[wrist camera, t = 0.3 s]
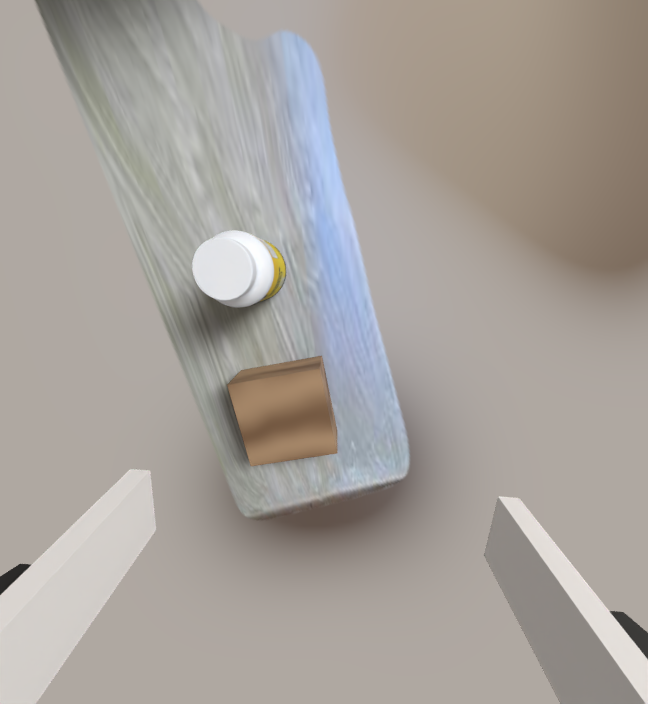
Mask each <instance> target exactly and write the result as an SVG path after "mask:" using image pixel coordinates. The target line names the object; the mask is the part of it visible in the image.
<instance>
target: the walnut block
mask: <svg viewBox="0 0 648 704" xmlns="http://www.w3.org/2000/svg"><path fill="white" fill-rule="evenodd" d="M227 386H228V390H229V393H230V397H231V400H232V403H233V407H234V410H235V414H236V417H237V421H238V424H239V428H240V431H241V434H242V438H243V441H244V445H245V448H246V452H247V455H248V458H249V462H250V465H251V466H256V465H263V464H269V463H276V462H283V461H289V460H296V459H303V458H309V457H316V456H322V455H329V454H336V453H337V427H336V422H335V418H334V413H333V408H332V403H331V398H330V393H329V388H328V383H327V379H326V374H325V369H324V364H323V359H322V356H318V357H312V358H307V359H301V360H296V361H290V362H285V363H279V364H273V365H268V366H262V367H257V368H251V369H246V370H241V371H240V372H239V373H238V374H237V375H236V376H235V377H234V378H233V379H232V380H231V382H230V383H229V384H228V385H227Z"/></svg>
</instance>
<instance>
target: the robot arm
mask: <svg viewBox="0 0 648 704" xmlns="http://www.w3.org/2000/svg"><path fill="white" fill-rule="evenodd" d="M155 531H156V524H155V514H154V504H153V493H152V484H151V474H150V470H135V469H130V470H129V471H128V472H127V473H126V474H125V475H124V476H123V477H122V478H121V479H120V480H119V481H118V482H117V483H116V484H114V486H112V487H111V488H110V489H109V490H108V491H107V492H106V494H104V495H103V496H102V497H101V498H100V499H99V500H98V501H97V502H96V503H95V504H94V505H93V506H92V507H91V508H90V509H89V510H88V511H87V512H86V513H85V514H84V515H83V516H82V517H81V518H79V519H78V521H76V522H75V523H74V525H72V526H71V527H70V528H69V529H68V530H67V531H66V532H65V533H64V534H63V535H62V536H61V537H60V538H59V539H58V540H57V541H56V542H55V543H54V544H53V545H52V546H51V547H50V548H49V549H48V550H46V552H44V553H43V554H42V555H41V556H40V557H39V558H38V559H37V560H36V561H35V562H34V563H33V564H32V565H28V564H19V565H18V566H16V567H15V568H13V569H11V570H10V571H8V572H7V573H5V574H4V575H2V576H0V704H36V702H37V701H38V700H39V698H40V697H41V695H42V694H43V692H44V691H45V689H46V688H47V687H48V685H49V684H50V682H51V681H52V679H53V678H54V676H55V675H56V674H57V672H58V671H59V669H60V668H61V666H62V665H63V663H64V662H65V661H66V659H67V658H68V656H69V655H70V653H71V652H72V650H73V649H74V648H75V646H76V645H77V643H78V642H79V640H80V639H81V637H82V636H83V635H84V633H85V632H86V630H87V629H88V627H89V626H90V624H91V623H92V622H93V620H94V619H95V617H96V616H97V614H98V613H99V611H100V610H101V609H102V607H103V606H104V604H105V603H106V601H107V600H108V598H109V597H110V596H111V594H112V593H113V591H114V589H115V588H116V587H117V585H118V584H119V583H120V581H121V580H122V578H123V577H124V575H125V574H126V572H127V571H128V570H129V568H130V567H131V565H132V564H133V562H134V561H135V559H136V558H137V557H138V555H139V554H140V552H141V551H142V549H143V548H144V546H145V545H146V544H147V542H148V541H149V539H150V538H151V536H152V535H153V533H154V532H155ZM484 556H485V558H486V560H487V562H488V564H489V566H490V568H491V570H492V572H493V574H494V576H495V578H496V580H497V582H498V584H499V586H500V587H501V589H502V591H503V593H504V595H505V597H506V599H507V601H508V603H509V605H510V607H511V609H512V611H513V613H514V615H515V617H516V618H517V620H518V622H519V624H520V626H521V628H522V630H523V632H524V634H525V636H526V638H527V640H528V642H529V644H530V646H531V647H532V649H533V651H534V653H535V655H536V657H537V659H538V661H539V663H540V665H541V667H542V669H543V671H544V673H545V675H546V677H547V679H548V680H549V682H550V684H551V686H552V688H553V690H554V692H555V694H556V696H557V698H558V700H559V702H560V704H648V633H647V632H646V631H645V630H643V628H641V627H640V626H639V625H638V624H637V623H635V622H634V621H633V620H632V619H631V618H629V617H628V616H627V615H626V614H625V613H623V612H615V611H609V610H608V609H607V608H606V607H605V605H604V604H603V603H602V601H600V599H599V598H598V596H597V595H596V594H595V593H594V591H593V590H592V589H591V588H590V586H589V585H588V584H587V583H586V581H585V580H584V579H583V578H582V576H581V575H580V574H579V573H578V571H577V570H576V569H575V568H574V567H573V565H572V564H571V563H570V561H569V560H568V559H567V558H566V556H565V555H564V554H563V553H562V551H561V550H560V549H559V548H558V546H557V545H556V544H555V543H554V541H553V540H552V539H551V538H550V536H549V535H548V534H547V533H546V531H545V530H544V529H543V528H542V527H541V525H540V524H539V523H538V521H537V520H536V519H535V518H534V516H533V515H532V514H531V512H530V511H529V510H528V509H527V507H526V506H525V505H524V504H523V502H522V501H521V500H520V499H519V498H511V497H498V499H497V503H496V507H495V512H494V516H493V520H492V524H491V528H490V533H489V537H488V541H487V545H486V549H485V553H484Z"/></svg>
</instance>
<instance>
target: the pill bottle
mask: <svg viewBox="0 0 648 704" xmlns="http://www.w3.org/2000/svg"><path fill="white" fill-rule="evenodd" d="M192 272H193V276H194V279H195V281H196V283H197V285H198V286H199V288H200V289H201V290H202V291H203V292H204V293H205V294H207V295H208V296H210V297H212V298H214V299H215V300H217V301H218V302H220V303H222V304H224V305H227V306H231V307H247V306H251V305H253V304H256V303H258V302H260V301H263V300H265V299H268V298H270V297H272V296H274V295H275V294H276V293H277V292H278V291H279V290H280V289H281V287H282V286H283V284H284V281H285V278H286V265H285V261H284V259H283V256H282V255H281V253H280V252H279V250H278V249H277V248H276V247H275V246H273V245H272V244H270V243H269V242H267V241H264V240H262V239H260V238H258V237H256V236H254V235H251V234H249V233H246V232H243V231H236V230H231V231H225V232H222V233H219V234H217V235H215V236H214V237H212V238H211V239H209V240H207V241H205V242H204V243H202V244H201V245H200V246H199V247H198V249H197V250H196V252H195V254H194V257H193V261H192Z"/></svg>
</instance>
